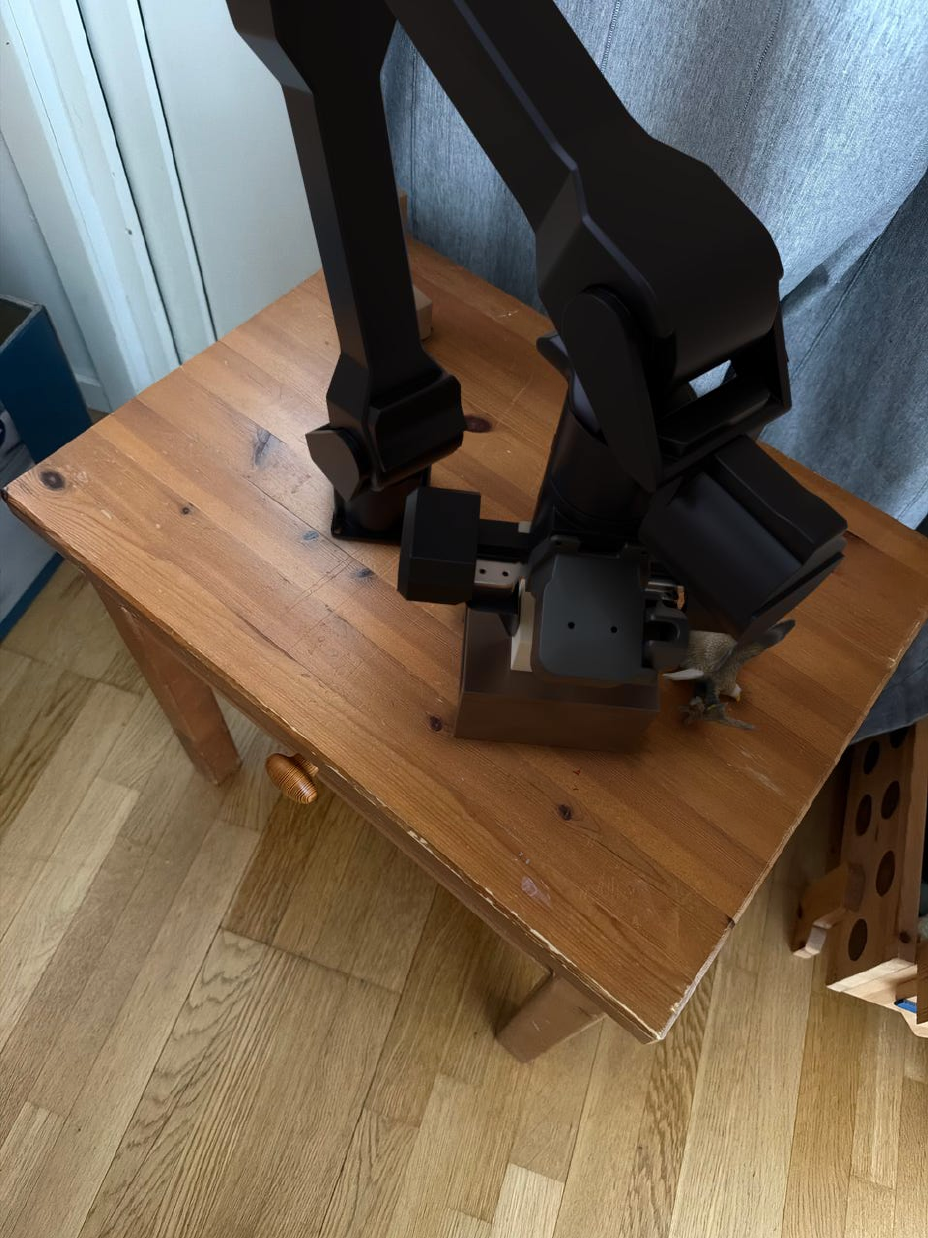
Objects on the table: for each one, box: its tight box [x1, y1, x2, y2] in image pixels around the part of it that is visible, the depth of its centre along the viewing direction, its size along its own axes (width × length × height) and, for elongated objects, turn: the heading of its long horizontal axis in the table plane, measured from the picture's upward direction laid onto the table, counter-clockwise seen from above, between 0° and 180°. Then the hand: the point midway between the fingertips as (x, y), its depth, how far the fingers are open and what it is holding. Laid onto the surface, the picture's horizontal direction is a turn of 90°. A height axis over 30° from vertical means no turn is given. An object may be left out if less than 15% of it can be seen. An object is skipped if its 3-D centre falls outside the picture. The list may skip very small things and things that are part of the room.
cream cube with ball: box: [511, 579, 536, 672], centre depth 53 cm, size 4×4×7 cm
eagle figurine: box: [661, 617, 797, 731], centre depth 61 cm, size 8×7×9 cm
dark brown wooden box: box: [452, 579, 661, 754], centre depth 59 cm, size 12×10×7 cm
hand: (549, 634), depth 55 cm, fingers closed on cream cube with ball, 4 cm apart
